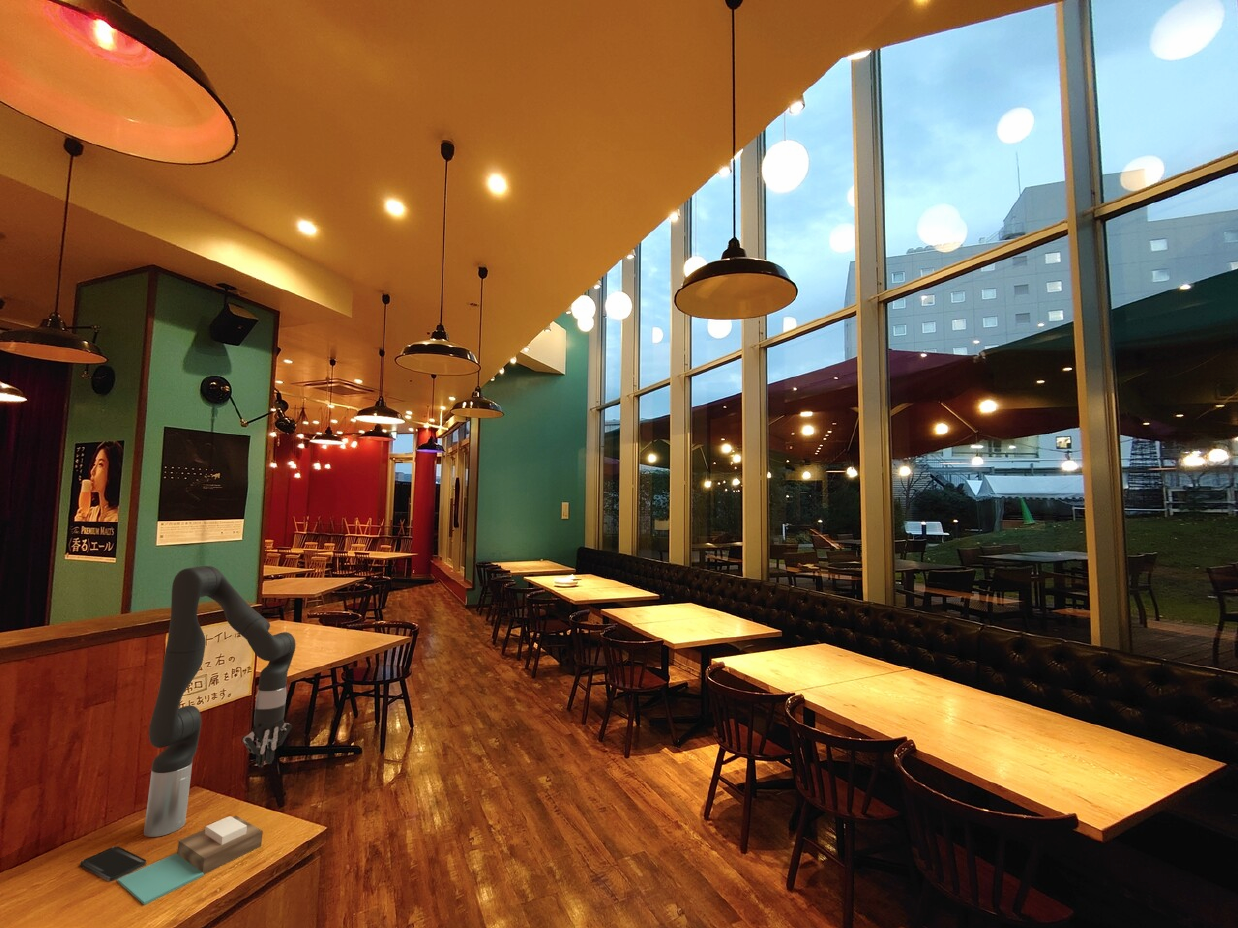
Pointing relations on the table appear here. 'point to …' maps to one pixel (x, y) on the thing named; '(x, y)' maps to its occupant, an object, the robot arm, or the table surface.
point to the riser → (218, 848)
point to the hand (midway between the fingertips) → (264, 764)
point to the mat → (160, 878)
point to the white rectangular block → (225, 830)
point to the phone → (113, 863)
